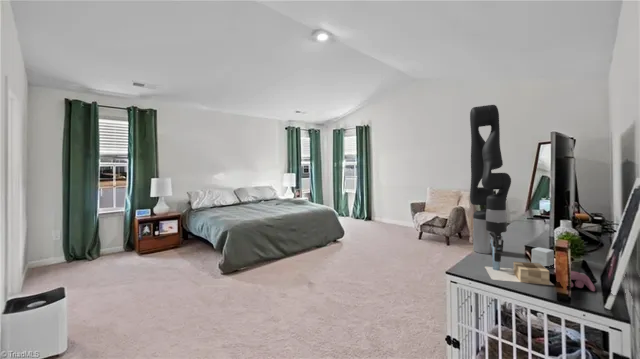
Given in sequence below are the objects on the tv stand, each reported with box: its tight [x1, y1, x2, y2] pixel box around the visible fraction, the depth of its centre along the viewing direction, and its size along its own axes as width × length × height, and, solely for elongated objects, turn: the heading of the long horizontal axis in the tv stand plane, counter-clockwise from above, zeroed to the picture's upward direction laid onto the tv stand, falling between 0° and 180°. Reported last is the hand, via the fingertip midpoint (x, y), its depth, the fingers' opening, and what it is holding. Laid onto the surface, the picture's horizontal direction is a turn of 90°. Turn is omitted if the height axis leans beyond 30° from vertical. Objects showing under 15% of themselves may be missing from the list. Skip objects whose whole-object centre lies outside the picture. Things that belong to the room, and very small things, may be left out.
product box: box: [530, 246, 555, 266], centre depth 126 cm, size 6×6×7 cm
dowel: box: [492, 244, 501, 270], centre depth 123 cm, size 3×3×12 cm
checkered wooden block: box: [513, 261, 550, 286], centre depth 112 cm, size 9×9×5 cm
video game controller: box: [570, 270, 596, 292], centre depth 104 cm, size 10×5×7 cm, turn 77°
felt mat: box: [484, 266, 554, 286], centre depth 116 cm, size 15×20×1 cm
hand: (496, 259), depth 123 cm, fingers open, 4 cm apart
